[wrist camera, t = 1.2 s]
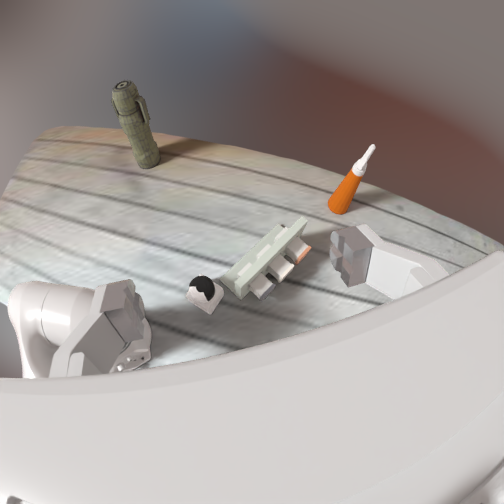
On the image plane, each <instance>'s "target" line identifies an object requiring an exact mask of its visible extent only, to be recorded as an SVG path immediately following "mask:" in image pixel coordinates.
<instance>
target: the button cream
mask: <svg viewBox="0 0 504 504" xmlns="http://www.w3.org/2000/svg"><path fill="white" fill-rule="evenodd" d="M270 247H271V246H270V245H269V244H267V245H266V246H265V247H264V248H263V249H262V250H261V251H260V252H259V253H258V254H257V258H256V261H257V260H258V259H259V258H260V257H261V256H262V255H263V254H264V253H265V252H266V251H267V250H268V249H269V248H270ZM293 267H294V265H293V264H291V263H289V262H288V261H287V260H286V259H285V258H284V257H283V256H282V255H280V254H279V255H278V256H277V257H276V258H275V259H274V260H273V261H272V262H271V263H270V264H269V265H268V266H267V271H268V272H270V273H271V274H272V275H273V276H274V277H275V278H276V279H277V280H278V282H279V283H281V281H282V280H283V279H284V278H285V277H286V276H287V275H288V274H289V273H290V272H291V271H292V269H293Z"/></svg>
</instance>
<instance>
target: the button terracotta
mask: <svg viewBox="0 0 504 504" xmlns="http://www.w3.org/2000/svg"><path fill="white" fill-rule="evenodd" d="M287 230H288V228H287V227H285V228H284V229H283V230H282V231H281V232H280V233H279V234H278V235H277V236H276V237H275V240H274V243H275V242H276V241H277V240H278V239H279V238H280V237H281V236H282V235H283V234H284V233H285V232H286V231H287ZM310 249H311V246H308V245H307V244H306V243H304V242H303V241H302V240H301V239H300V238H299V237H296V238H295V239H294V240H293V241H292V242H291V243H290V244H289V245H288V246H287V247H286V249H285V251H284V253H285V254H287V255H288V256H289V257H290V258H291V259H292V260H293V261H294V262H295V264H296V265H298V263H299V262H300V261H301V260H302V259H303V258H304V257H305V256H306V255H307V254H308V252H309V251H310Z"/></svg>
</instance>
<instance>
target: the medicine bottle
mask: <svg viewBox="0 0 504 504" xmlns="http://www.w3.org/2000/svg"><path fill="white" fill-rule="evenodd" d="M185 296H186V298H187V299H188V300H189V301H190V302H191V303H193V304H194V305H196V306H197V307H199V308H200V309H202V310H203V311H205V312H206V313H208V314H209V315H211V314H212V312H213V311H214V309H215V308H216V306H217V305H218V303H219V302H220V301H221V299H222V298H223V296H224V290H223V288H222V287H221V286H219V285H218V284H216V283H215V282H213V281H212V280H211V279H210V278H208V277H206V276H204V275H202V274H200V275H199V276H198V277H195V278H194V279H193V280H192V281H191V283H190V285H189V291H188V292H187V293H186V295H185Z"/></svg>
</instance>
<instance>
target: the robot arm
mask: <svg viewBox="0 0 504 504" xmlns="http://www.w3.org/2000/svg"><path fill="white" fill-rule="evenodd" d="M331 241H332V243H333V245H332V247H331V248H330V260H331V263H332V265H333V267H334V268H335V270H336V271H339V272H341V278H342V280H343V281H344V283H345V284H346V285H347V287H351V286H355V285H358V284H361V283H365V282H366V284H368V285H369V286H371V287H373V288H375V289H376V290H378V291H380V292H382V293H383V294H385V295H387V296H389V297H390V298H392V299H394V300H393V301H390V302H388V303H385V304H383V305H380V306H378V307H375V308H372V309H370V310H367V311H364V312H362V313H359V314H356V315H354V316H351V317H348V318H345V319H342V320H339V321H336V322H334V323H331V324H328V325H325V326H322V327H318V328H315V329H312V330H309V331H306V332H303V333H299V334H296V335H293V336H289V337H286V338H282V339H279V340H275V341H272V342H268V343H264V344H261V345H257V346H253V347H249V348H245V349H241V350H237V351H233V352H228V353H224V354H220V355H215V356H211V357H206V358H201V359H196V360H192V361H186V362H181V363H176V364H170V365H164V366H158V367H152V368H146V369H139V370H134V369H136V368H137V367H139V366H141V365H142V364H144V363H145V362H147V361H149V360H150V359H151V352H150V343H151V336H152V335H151V328H150V325H149V323H148V321H147V320H146V318H145V308H144V303H143V301H142V298H141V296H140V295H139V294H138V293H136V292H135V285H134V283H133V281H132V280H130V279H128V280H123V281H119V282H114V283H109V284H105V285H101V286H98V287H97V288H96V290H93V289H90V288H85V287H77V286H70V285H63V284H53V283H47V282H41V281H32V282H25V283H20V284H18V285H17V286H15V287H14V289H13V290H12V292H11V294H10V296H9V300H8V314H9V318H10V320H11V322H12V324H13V326H14V328H15V331H16V334H17V338H18V342H19V347H20V353H21V359H22V369H23V378H0V504H504V251H500V250H497V251H494V252H492V253H490V254H489V255H487V256H485V257H484V258H482V259H480V260H478V261H476V262H474V263H472V264H471V265H469V266H467V267H465V268H463V269H461V270H459V271H457V272H455V273H453V274H451V275H449V274H448V273H447V271H446V270H445V269H444V268H443V267H442V266H441V265H440V264H439V263H438V262H437V261H436V260H435V259H432V258H429V257H427V256H424V255H422V254H419V253H416V252H414V251H411V250H408V249H405V248H403V247H400V246H397V245H394V244H391V243H389V242H388V243H385V242H384V241H383V240H382V239H381V238H380V237H379V236H378V235H377V234H376V233H375V232H374V231H372V230H371V229H370V228H369V227H368V226H367V225H366V224H363V223H362V224H359V225H355V226H353V227H349V228H344V229H340V230H336V231H332V233H331ZM142 357H144V360H143V359H142ZM122 371H123V372H122Z"/></svg>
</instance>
